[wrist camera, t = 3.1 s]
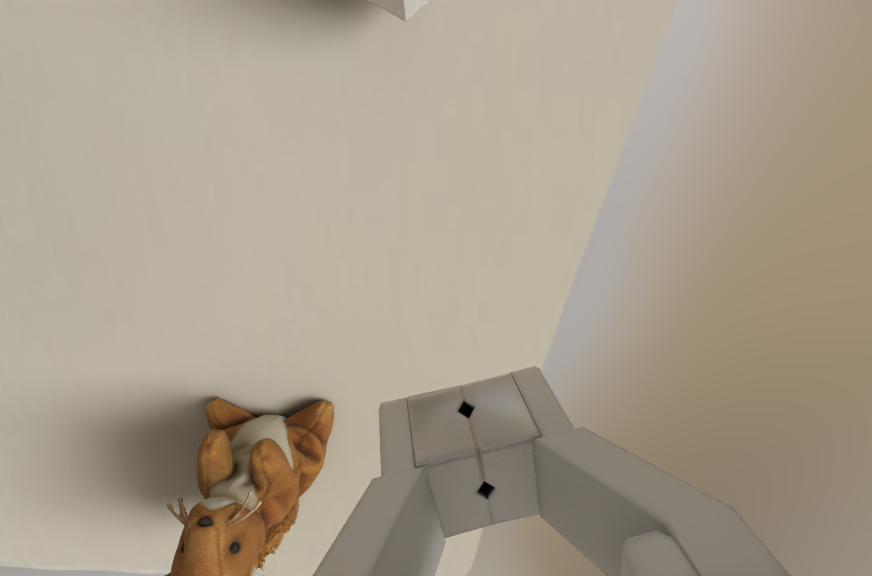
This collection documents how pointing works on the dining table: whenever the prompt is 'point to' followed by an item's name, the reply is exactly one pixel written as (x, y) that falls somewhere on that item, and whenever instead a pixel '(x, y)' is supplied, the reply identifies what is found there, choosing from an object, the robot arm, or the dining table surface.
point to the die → (400, 7)
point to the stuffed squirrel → (249, 487)
